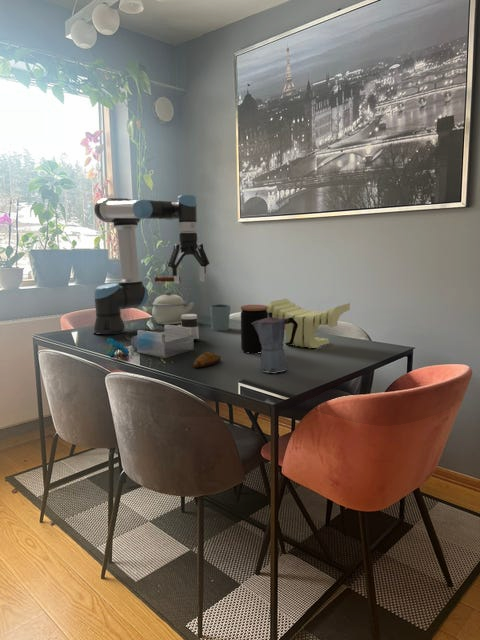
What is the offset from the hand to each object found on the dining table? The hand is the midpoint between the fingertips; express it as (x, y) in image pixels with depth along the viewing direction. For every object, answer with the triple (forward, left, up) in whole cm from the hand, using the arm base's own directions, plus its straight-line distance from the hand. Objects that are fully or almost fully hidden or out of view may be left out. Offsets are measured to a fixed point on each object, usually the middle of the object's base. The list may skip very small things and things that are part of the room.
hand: (189, 282), depth 203 cm
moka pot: (+56, -19, -26) cm, 65 cm away
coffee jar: (+34, 0, -26) cm, 43 cm away
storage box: (+1, -20, -27) cm, 33 cm away
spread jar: (-3, -1, -26) cm, 26 cm away
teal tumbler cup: (-7, +28, -26) cm, 39 cm away
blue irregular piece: (-7, -35, -26) cm, 44 cm away
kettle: (-42, +29, -26) cm, 58 cm away
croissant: (+32, -26, -26) cm, 49 cm away
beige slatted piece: (+46, +21, -26) cm, 57 cm away
